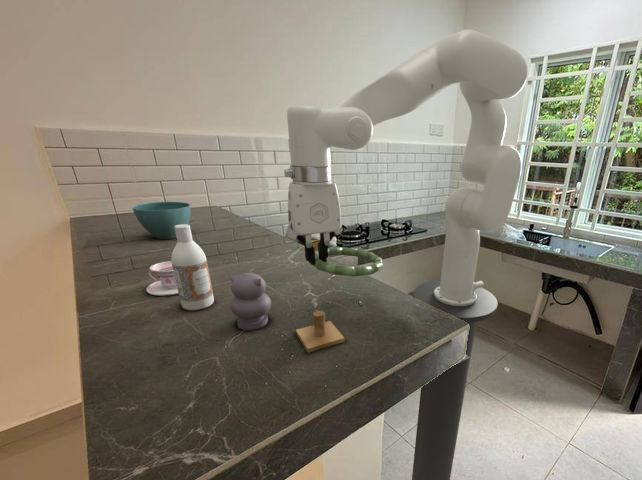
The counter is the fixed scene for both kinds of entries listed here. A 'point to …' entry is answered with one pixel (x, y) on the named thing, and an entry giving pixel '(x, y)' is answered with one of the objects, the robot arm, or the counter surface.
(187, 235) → the bath foam
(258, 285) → the cat figurine
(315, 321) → the stand
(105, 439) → the counter surface
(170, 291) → the teacup
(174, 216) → the teal bowl
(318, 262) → the ring
